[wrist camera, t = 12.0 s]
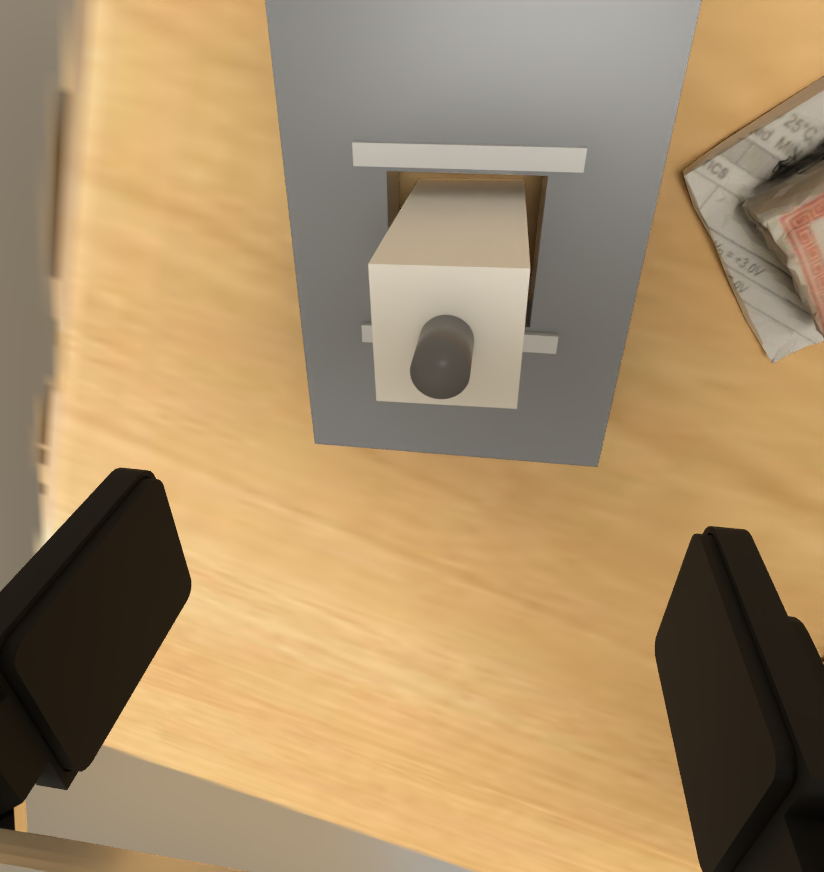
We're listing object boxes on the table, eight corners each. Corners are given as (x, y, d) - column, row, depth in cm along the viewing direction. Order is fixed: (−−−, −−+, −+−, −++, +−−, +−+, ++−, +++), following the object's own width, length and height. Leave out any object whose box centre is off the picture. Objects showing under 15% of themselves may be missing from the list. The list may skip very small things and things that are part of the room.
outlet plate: (693, -65, 20) (721, -79, 17) (591, 432, 31) (598, 470, 29) (286, -59, 22) (254, -71, 19) (329, 412, 33) (313, 447, 30)
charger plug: (524, 179, 25) (532, 296, 14) (515, 281, 27) (517, 446, 17) (419, 178, 25) (352, 290, 15) (420, 279, 28) (363, 436, 17)
